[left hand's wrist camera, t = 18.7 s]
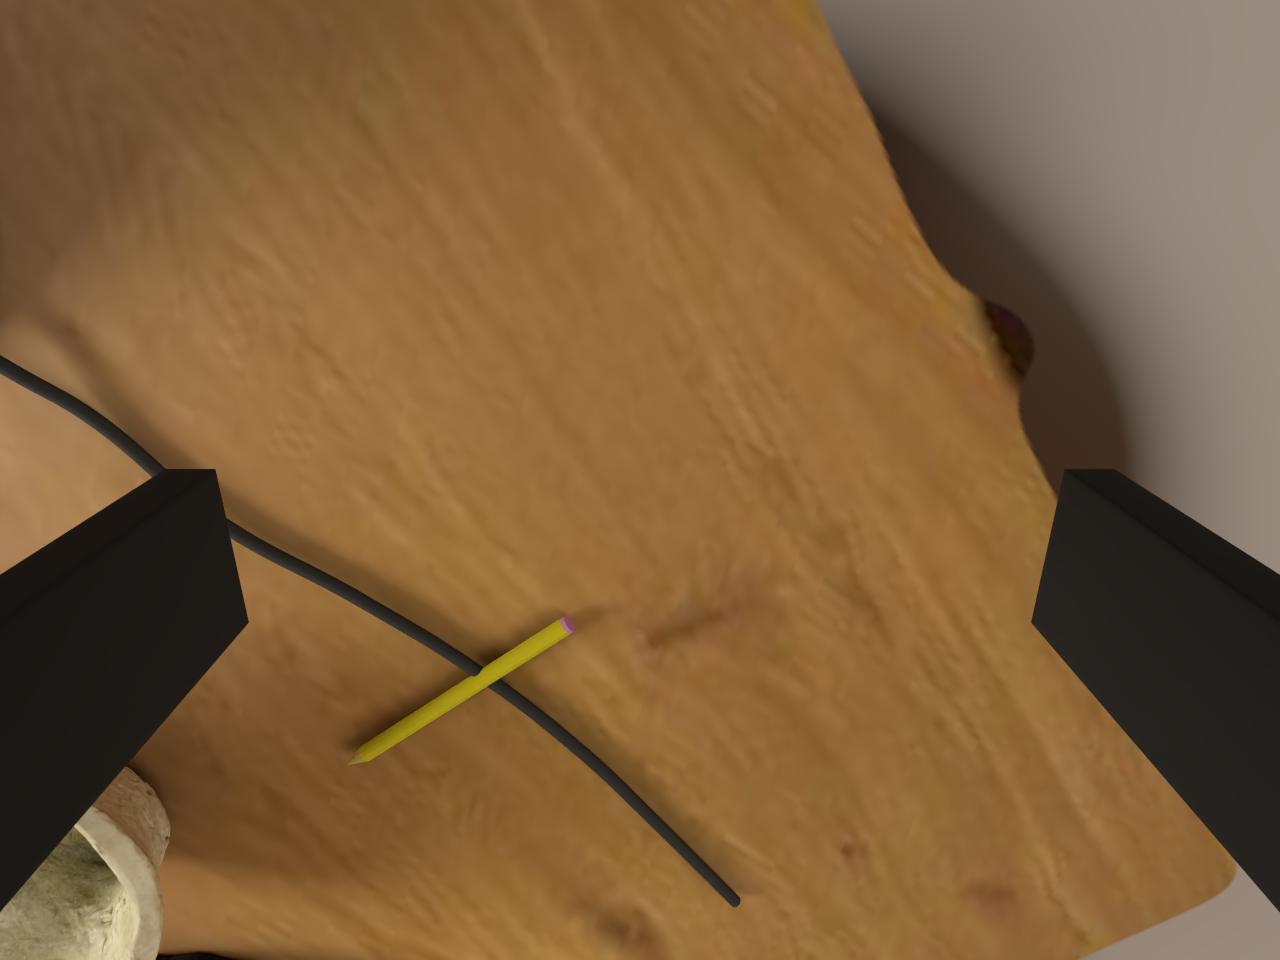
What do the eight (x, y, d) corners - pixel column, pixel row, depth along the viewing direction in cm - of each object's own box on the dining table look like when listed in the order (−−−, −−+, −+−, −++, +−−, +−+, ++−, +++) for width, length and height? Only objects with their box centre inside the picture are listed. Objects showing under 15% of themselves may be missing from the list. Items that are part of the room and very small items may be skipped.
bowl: (213, 832, 54) (-21, 1009, 47) (43, 636, 46) (-267, 812, 39) (263, 956, 43) (-30, 1208, 36) (53, 728, 36) (-369, 992, 29)
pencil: (564, 612, 42) (563, 621, 41) (575, 624, 43) (574, 634, 42) (344, 753, 46) (337, 765, 45) (355, 764, 46) (349, 776, 45)
